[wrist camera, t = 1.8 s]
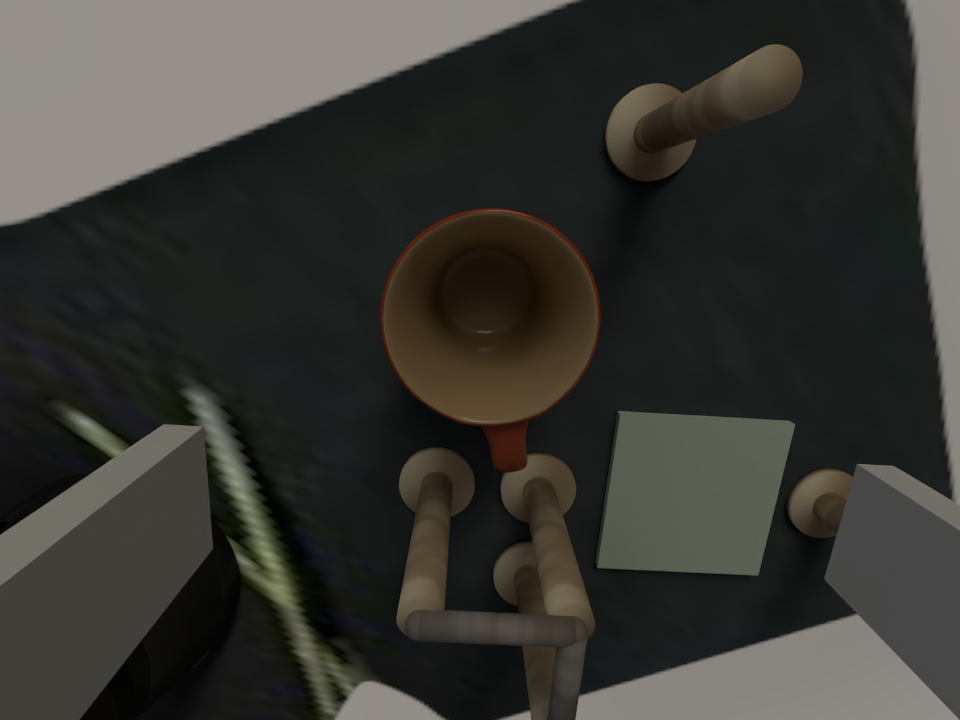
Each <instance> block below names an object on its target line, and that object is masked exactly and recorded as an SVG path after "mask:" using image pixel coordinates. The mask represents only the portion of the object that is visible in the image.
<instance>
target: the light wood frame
mask: <svg viewBox="0 0 960 720" xmlns="http://www.w3.org/2000/svg"><path fill="white" fill-rule="evenodd" d="M527 459H528V462H527V466H526V467H525V468H524V469H523V470H520V471H516V472H510V473H504V474H503V476H502V480H501V496H502V501H503V503H504V505H505V507H506V509H507V510H508V511H509V513H510V514H512V515H513V516H514V517H515V518H517V519H519V520H521V521H523V522H526V523H529V527H530V532H531V538H532V541H524V542H519V543H516V544H513V545H511V546H509V547H508V548H506V549H505V550H504V551H503V552H502V553H501V554H500V555H499V556H498V558H497V560H496V562H495V564H494V569H493V578H494V585H495V588H496V590H497V592H498V593H499V595H500V596H501V597H502V598H503V599H504V600H505V601H507V602H509V603H511V604H513V605H516V606H518V613H496V612H473V611H450V610H444V608H445V593H446V578H447V563H448V548H449V533H450V518H451V516H454V515H456V514H458V513H459V512H461V511H462V510H463V509H464V508H466V506H467V505H468V504H469V502H470V501H471V499H472V497H473V494H474V488H475V478H474V473H473V470H472V468H471V466H470V464H469V462H468V461H467V460H466V459H465V458H464V457H463V456H462V455H461V454H459V453H458V452H456V451H454V450H451V449H448V448H444V447H430V448H426V449H423V450H420V451H418V452H416V453H415V454H414V455H412V456H411V457H410V458H409V459H408V460H407V461H406V463H405V465H404V466H403V469H402V471H401V475H400V479H399V490H400V494H401V497H402V499H403V501H404V502H405V504H406V505H407V506H408V507H409V508H410V509H411V510H412V511H413V512H415V513H416V514H415V520H414V525H413V531H412V536H411V542H410V547H409V552H408V558H407V563H406V569H405V574H404V579H403V585H402V590H401V596H400V601H399V607H398V612H397V618H396V620H397V625H398V627H399V629H400V630H401V631H402V632H403V633H404V634H405V635H407V636H409V637H410V638H411V639H412V640H414V641H422V642H446V643H470V644H494V645H518V646H523V654H524V662H525V671H526V679H527V687H528V696H529V704H530V712H531V720H575V717H576V711H577V704H578V697H579V691H580V684H581V677H582V670H583V664H584V657H585V650H586V643H587V640H588V639H589V638H590V637H591V636H592V634H593V632H594V630H595V620H594V616H593V613H592V610H591V607H590V603H589V600H588V597H587V594H586V590H585V587H584V584H583V581H582V577H581V574H580V571H579V568H578V564H577V561H576V558H575V555H574V551H573V548H572V545H571V541H570V538H569V535H568V532H567V528H566V525H565V522H564V519H563V514H565V513H566V512H567V511H568V510H569V508H570V507H571V505H572V503H573V501H574V498H575V495H576V483H575V479H574V477H573V474H572V472H571V470H570V468H569V467H568V466H567V464H566V463H565V462H564V461H563V460H561V459H560V458H558V457H556V456H554V455H551V454H548V453H541V452H540V453H530V454H527Z"/></svg>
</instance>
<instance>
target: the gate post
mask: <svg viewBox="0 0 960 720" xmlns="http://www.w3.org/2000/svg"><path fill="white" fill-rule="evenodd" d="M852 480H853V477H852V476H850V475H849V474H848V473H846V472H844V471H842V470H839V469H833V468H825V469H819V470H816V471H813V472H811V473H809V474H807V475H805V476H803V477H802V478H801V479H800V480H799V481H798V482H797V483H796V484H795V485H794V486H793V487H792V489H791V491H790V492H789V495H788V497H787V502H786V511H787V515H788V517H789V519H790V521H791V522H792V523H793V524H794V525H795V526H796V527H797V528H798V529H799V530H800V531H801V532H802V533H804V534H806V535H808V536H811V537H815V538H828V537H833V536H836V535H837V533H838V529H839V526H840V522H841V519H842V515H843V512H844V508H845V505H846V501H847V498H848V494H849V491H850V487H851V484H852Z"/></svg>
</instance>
